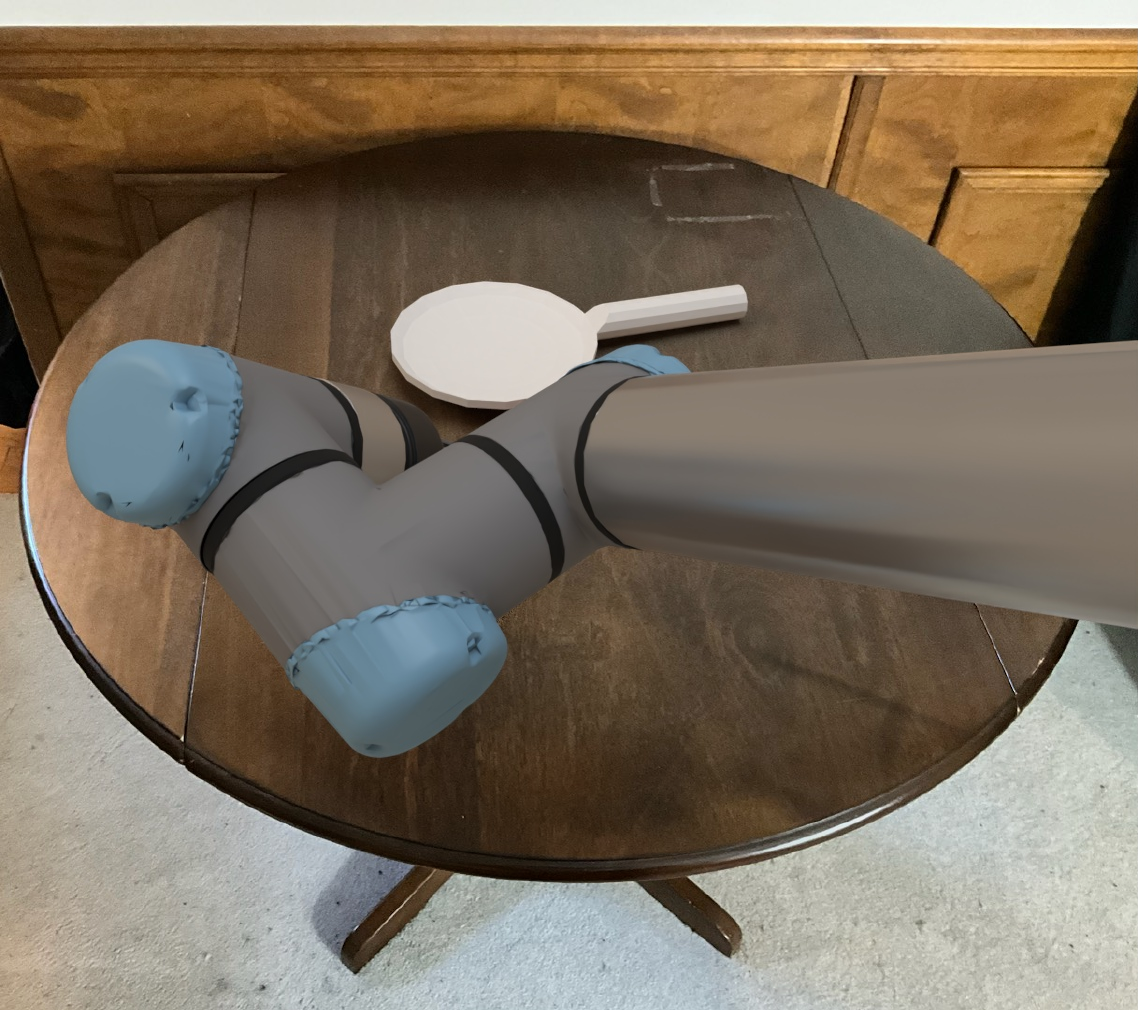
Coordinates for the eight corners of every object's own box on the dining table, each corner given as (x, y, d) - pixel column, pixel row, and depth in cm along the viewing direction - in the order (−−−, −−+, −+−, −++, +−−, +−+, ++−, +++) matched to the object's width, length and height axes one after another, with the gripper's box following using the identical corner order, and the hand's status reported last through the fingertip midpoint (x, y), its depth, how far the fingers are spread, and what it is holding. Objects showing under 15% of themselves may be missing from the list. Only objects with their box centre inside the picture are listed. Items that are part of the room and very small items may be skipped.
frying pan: (696, 276, 112) (703, 238, 109) (777, 381, 99) (787, 341, 96) (373, 321, 102) (369, 281, 99) (416, 443, 90) (414, 401, 86)
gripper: (234, 471, 57) (446, 495, 79) (415, 583, 52) (587, 576, 74) (288, 346, 56) (487, 405, 78) (477, 449, 51) (633, 481, 73)
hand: (536, 488), depth 76 cm, fingers closed
